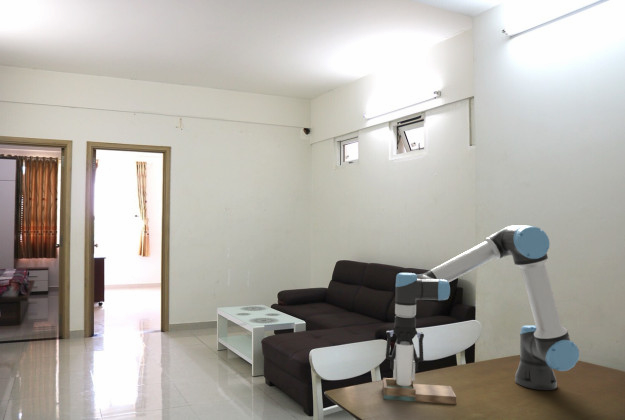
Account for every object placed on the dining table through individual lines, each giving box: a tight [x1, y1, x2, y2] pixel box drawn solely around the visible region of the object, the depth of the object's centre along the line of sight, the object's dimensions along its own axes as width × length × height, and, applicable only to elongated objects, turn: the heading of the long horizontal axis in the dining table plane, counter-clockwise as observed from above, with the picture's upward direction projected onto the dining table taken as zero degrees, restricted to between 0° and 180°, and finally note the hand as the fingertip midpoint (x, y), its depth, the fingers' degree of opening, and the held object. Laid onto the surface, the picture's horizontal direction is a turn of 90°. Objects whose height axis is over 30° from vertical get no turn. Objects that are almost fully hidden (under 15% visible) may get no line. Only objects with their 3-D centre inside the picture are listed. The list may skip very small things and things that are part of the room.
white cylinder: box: [394, 341, 415, 386], centre depth 178 cm, size 7×7×15 cm
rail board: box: [382, 377, 457, 405], centre depth 177 cm, size 25×11×4 cm, turn 84°
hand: (403, 379), depth 178 cm, fingers closed on white cylinder, 6 cm apart
